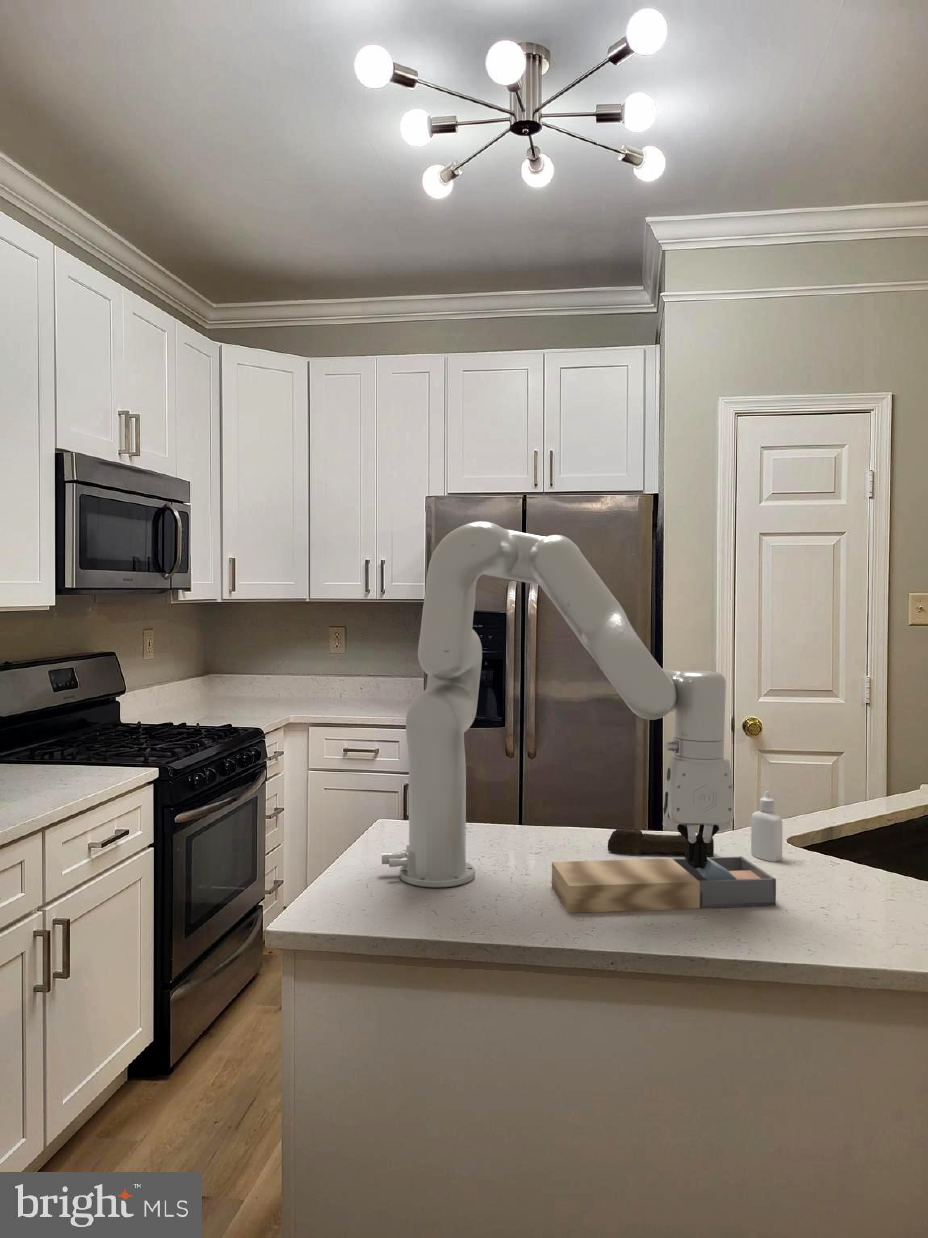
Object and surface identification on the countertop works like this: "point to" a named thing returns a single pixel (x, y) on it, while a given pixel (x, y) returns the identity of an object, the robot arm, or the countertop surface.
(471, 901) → the countertop surface
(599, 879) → the oak board
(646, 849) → the hand tool
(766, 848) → the eye dropper bottle
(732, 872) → the terracotta tile
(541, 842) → the countertop surface
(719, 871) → the pale blue tile
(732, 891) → the tray
